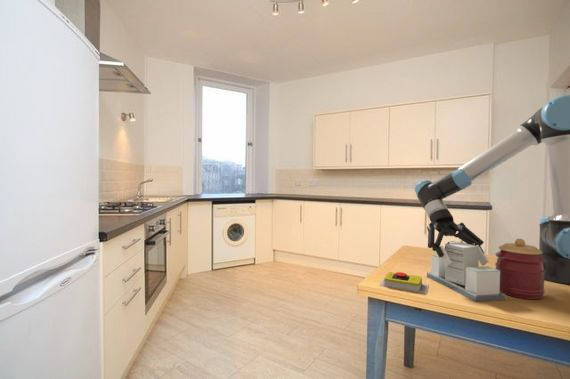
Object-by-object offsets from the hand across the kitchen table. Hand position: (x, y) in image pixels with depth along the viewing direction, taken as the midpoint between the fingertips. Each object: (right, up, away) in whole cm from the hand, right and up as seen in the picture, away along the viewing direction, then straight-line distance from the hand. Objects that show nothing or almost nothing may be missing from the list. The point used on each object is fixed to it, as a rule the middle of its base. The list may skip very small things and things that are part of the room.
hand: (467, 264), depth 101 cm
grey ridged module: (-1, -7, +3) cm, 7 cm away
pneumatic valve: (+11, -8, +23) cm, 27 cm away
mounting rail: (0, -8, +3) cm, 9 cm away
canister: (+15, -9, -2) cm, 18 cm away
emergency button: (-20, -9, +4) cm, 22 cm away
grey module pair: (0, -7, +3) cm, 7 cm away
